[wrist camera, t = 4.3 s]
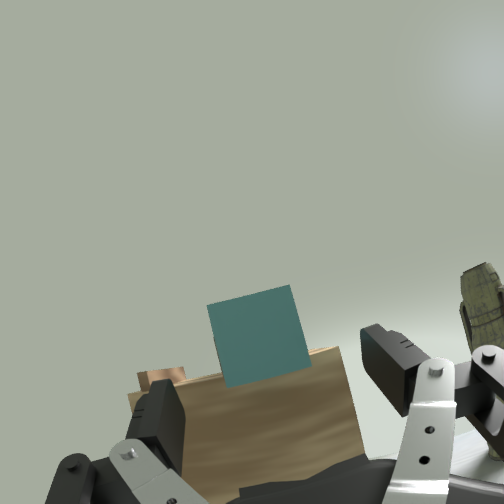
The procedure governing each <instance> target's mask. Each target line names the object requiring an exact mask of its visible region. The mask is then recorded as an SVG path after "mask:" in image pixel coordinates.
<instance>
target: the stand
mask: <svg viewBox="0 0 504 504" xmlns="http://www.w3.org/2000/svg"><path fill="white" fill-rule="evenodd" d="M214 342H215V339H214ZM215 346H216V343H215ZM216 350H217V347H216ZM308 353H309V356H310V360H311V364H312V366H311V367H308V368H305V369H301V370H298V371H294V372H291V373H287V374H283V375H280V376H276V377H272V378H268V379H264V380H260V381H256V382H252V383H248V384H244V385H239V386H235V387H230V388H227V387H226V383H225V379H224V375H223V371H222V372H221V373H217V374H212V375H207V376H203V377H198V378H192V379H188V380H186V376H185V372H184V368H183V367H177V368H169V369H161V370H153V371H145V372H139V373H137V375H138V379H139V383H140V387H141V391H138V392H134V393H130V394H128V398H129V402H130V406H131V410H132V414H133V412H134V408H135V405H136V402H137V401H138V400H139V399H140V397H141V396H142V395H143V394H148V393H149V390H150V386H151V383H152V381H156V380H162V379H168V378H170V379H171V381H172V382H173V385H174V387H175V389H176V392H177V394H178V396H179V398H180V401H181V403H182V405H183V408H184V411H185V416H186V423H185V435H184V448H183V461H182V476H181V478H182V479H183V480H184V481H185V482H186V483H187V484H188V485H189V486H190V487H192V488H193V489H194V490H195V491H196V492H197V493H198V494H199V495H201V496H202V497H203V498H204V499H205V500H206V501H208V502H209V503H210V504H226V503H227V502H229V501H231V500H233V499H235V498H238V497H240V495H239V488H242V487H248V486H253V485H258V484H263V483H267V482H279V481H295V480H304V479H307V478H309V477H311V476H313V475H315V474H317V473H319V472H321V471H323V470H325V469H326V468H328V467H330V466H332V465H334V464H336V463H339V462H342V461H344V460H347V459H350V458H353V457H355V456H358V455H361V454H363V453H365V450H364V445H363V441H362V437H361V432H360V428H359V424H358V420H357V415H356V411H355V407H354V403H353V399H352V395H351V391H350V387H349V383H348V380H347V375H346V372H345V368H344V364H343V361H342V357H341V353H340V349H339V346H336V347H328V348H319V349H311V350H308ZM217 354H218V351H217ZM218 358H219V355H218ZM219 362H220V359H219ZM220 366H221V363H220ZM221 370H222V367H221Z"/></svg>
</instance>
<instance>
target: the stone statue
mask: <svg viewBox="0 0 504 504" xmlns="http://www.w3.org/2000/svg"><path fill="white" fill-rule="evenodd" d="M461 294H462V297H463V302H461V304H460V310H459V311H460V314H461V318H462V322H463V326H464V329H465V333H466V337H467V341H468V345H469V348H470V351H471V355H472V354H473V352H474V350H476V349H477V348H478V347H481V346H485V345H494V346H497V347H499V348H501V349H502V350H504V285H502V284H501V281H500V278H499V276H498V274H497V272H496V271H495V269H494V268H493V266H492V265H491V264H490V263H488V264H486V262H484V263H482V264H480V265H477V266H475V267H473V268H471V269H469V270H467V271H465V272H463V275H462V276H461ZM470 321H471V323H470ZM471 325H472V326H471ZM496 398H497V399H498V400H499V401H501V402H502V403H503V404H504V402H503V400H502V399H501V398H500V397H498V396H497V395H496ZM487 444H488V446H489V457H490V458H491V459H493V460H502V459H501V457H500V456H499V455H498V454H497V453H496V452H495V450H494V449H493V448H492V447H491V446H490V444H489V443H488V442H487Z"/></svg>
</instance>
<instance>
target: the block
mask: <svg viewBox="0 0 504 504" xmlns="http://www.w3.org/2000/svg"><path fill="white" fill-rule="evenodd" d="M207 309H208V313H209V317H210V321H211V326H212V330H213V334H214V339H215V343H216V347H217V351H218V355H219V359H220V363H221V367H222V371H223V375H224V379H225V383H226V387H227V388H230V387H235V386H239V385H244V384H248V383H252V382H256V381H260V380H264V379H268V378H272V377H276V376H280V375H283V374H287V373H291V372H294V371H298V370H301V369H305V368H308V367H311V366H312V364H311V360H310V356H309V353H308V349H307V345H306V342H305V338H304V334H303V331H302V327H301V324H300V320H299V316H298V313H297V309H296V306H295V302H294V299H293V295H292V292H291V288H290V285H286V286H282V287H279V288H274V289H270V290H266V291H262V292H259V293H255V294H251V295H247V296H243V297H239V298H235V299H231V300H226V301H222V302H218V303H214V304H210V305H207Z"/></svg>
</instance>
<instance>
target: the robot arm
mask: <svg viewBox="0 0 504 504" xmlns="http://www.w3.org/2000/svg"><path fill="white" fill-rule="evenodd" d="M360 339H361V351H362V362H363V365H364V368H365V371H366V372H367V374H368V375H369V376H370V378H371V379H372V380H373V381H374V382H375V384H376V385H377V386H378V388H379V389H380V390H381V391H382V392H383V394H384V395H385V396H386V398H387V399H388V400H389V401H390V403H391V404H392V405H393V406H394V408H395V409H396V410H397V412H398V413H399V414H400V415H401V417H405V416H407V415H408V419H407V423H406V427H405V432H404V436H403V440H402V444H401V447H400V451H399V455H398V458H397V460H395V459H376V460H369V459H368V458H367V456H366V454H365V453H363V454H361V455H358V456H355V457H353V458H350V459H347V460H344V461H342V462H339V463H336V464H334V465H332V466H330V467H328V468H326V469H325V470H323V471H321V472H319V473H317V474H315V475H313V476H311V477H309V478H307V479H304V480H295V481H279V482H267V483H263V484H258V485H253V486H248V487H242V488H239V495H240V497H238V498H235V499H233V500H231V501H229V502H227V503H226V504H504V484H497V483H491V482H486V481H481V480H475V479H471V478H466V477H461V476H457V475H453V474H449V473H450V466H451V459H452V450H453V441H454V429H455V419H457V418H460V417H464V416H465V417H466V418H467V419H468V420H469V421H470V422H471V424H472V425H473V426H474V427H475V428H476V429H477V431H478V432H479V433H480V434H481V435H482V436H483V438H484V439H485V440H486V441H487V442H488V443H489V444H490V446H491V447H492V448H493V449H494V450H495V452H496V453H497V454H498V455H499V456H500V457H501V459H502V460H503V461H504V404H503V403H502V402H501V401H499V400H498V399H497V398H496V395H497V396H498V397H500V398H501V399H502V400H503V402H504V350H502V349H501V348H499V347H497V346H494V345H485V346H481V347H478V348H477V349H476V350H474V352H473V354H472V360H471V361H469V362H465V363H461V364H457V365H453V363H452V362H451V361H449V360H448V359H445V358H430V357H429V356H428V355H427V354H425V353H424V352H423V351H422V350H421V349H420V348H418V347H417V346H416V345H414V344H413V343H412V342H411V341H410V340H408V339H407V338H406V337H405V336H404V335H402V334H401V333H398V332H395V331H392V330H391V331H388V332H387V331H386V330H385V329H384V328H383V327H381V326H380V325H379V324H374V325H371V326H369V327H366V328H363V329H361V331H360ZM185 423H186V416H185V411H184V408H183V405H182V403H181V401H180V398H179V396H178V394H177V392H176V389H175V387H174V385H173V382H172V381H171V379H170V378H168V379H162V380H156V381H152V383H151V386H150V390H149V393H148V394H143V395H142V396H141V397H140V399H139V400H138V401H137V402H136V405H135V408H134V412H133V415H132V419H131V421H130V425H129V428H128V431H127V435H126V439H125V440H123V441H121V442H119V443H117V444H116V445H115V446H114V447H113V448H112V449H111V451H110V454H109V457H107V458H103V459H100V460H96V461H92V462H91V461H90V460H89V458H88V457H87V456H86V455H84V454H80V453H76V454H72V455H69V456H67V457H65V458H64V459H63V460H62V461H61V462H60V464H59V466H58V468H57V471H56V474H55V476H54V479H53V482H52V485H51V488H50V490H49V493H48V496H47V499H46V502H45V504H210V503H209V502H208V501H206V500H205V499H204V498H203V497H202V496H201V495H199V494H198V493H197V492H196V491H195V490H194V489H193V488H192V487H190V486H189V485H188V484H187V483H186V482H185V481H184V480H183V479H182V478H181V476H182V461H183V448H184V435H185Z"/></svg>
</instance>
